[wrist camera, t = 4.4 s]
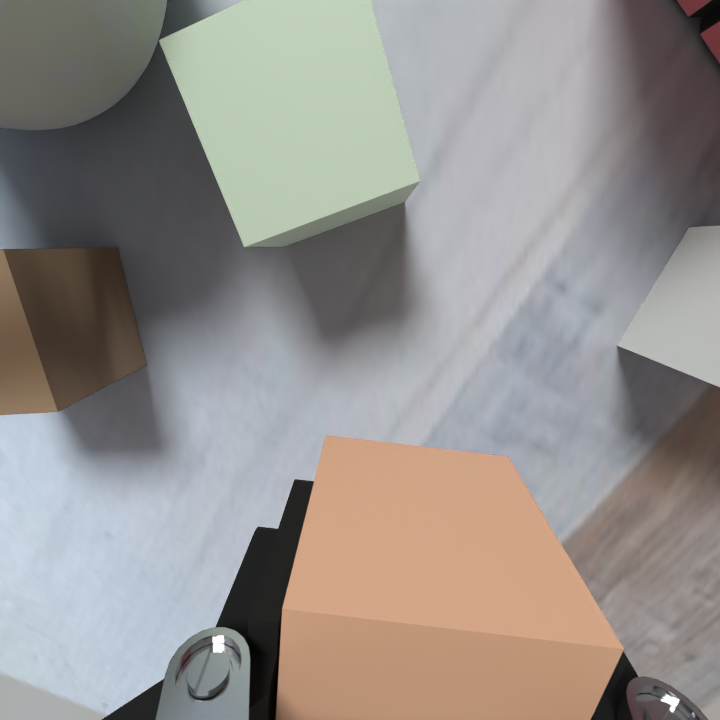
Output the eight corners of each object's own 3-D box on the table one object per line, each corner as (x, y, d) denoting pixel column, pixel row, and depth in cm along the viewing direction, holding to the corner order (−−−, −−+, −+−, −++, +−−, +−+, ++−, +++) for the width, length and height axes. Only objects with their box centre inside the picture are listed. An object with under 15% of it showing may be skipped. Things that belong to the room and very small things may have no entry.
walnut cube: (2, 256, 16) (-162, 261, 11) (118, 247, 15) (3, 249, 10) (41, 370, 17) (-88, 419, 12) (147, 364, 17) (57, 411, 12)
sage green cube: (233, 111, 14) (158, 40, 9) (362, 56, 13) (356, -53, 8) (285, 246, 15) (244, 246, 10) (404, 202, 14) (420, 180, 10)
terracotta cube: (325, 435, 10) (281, 608, 5) (508, 456, 10) (623, 649, 5) (313, 574, 12) (271, 803, 7) (471, 593, 12) (536, 835, 7)
